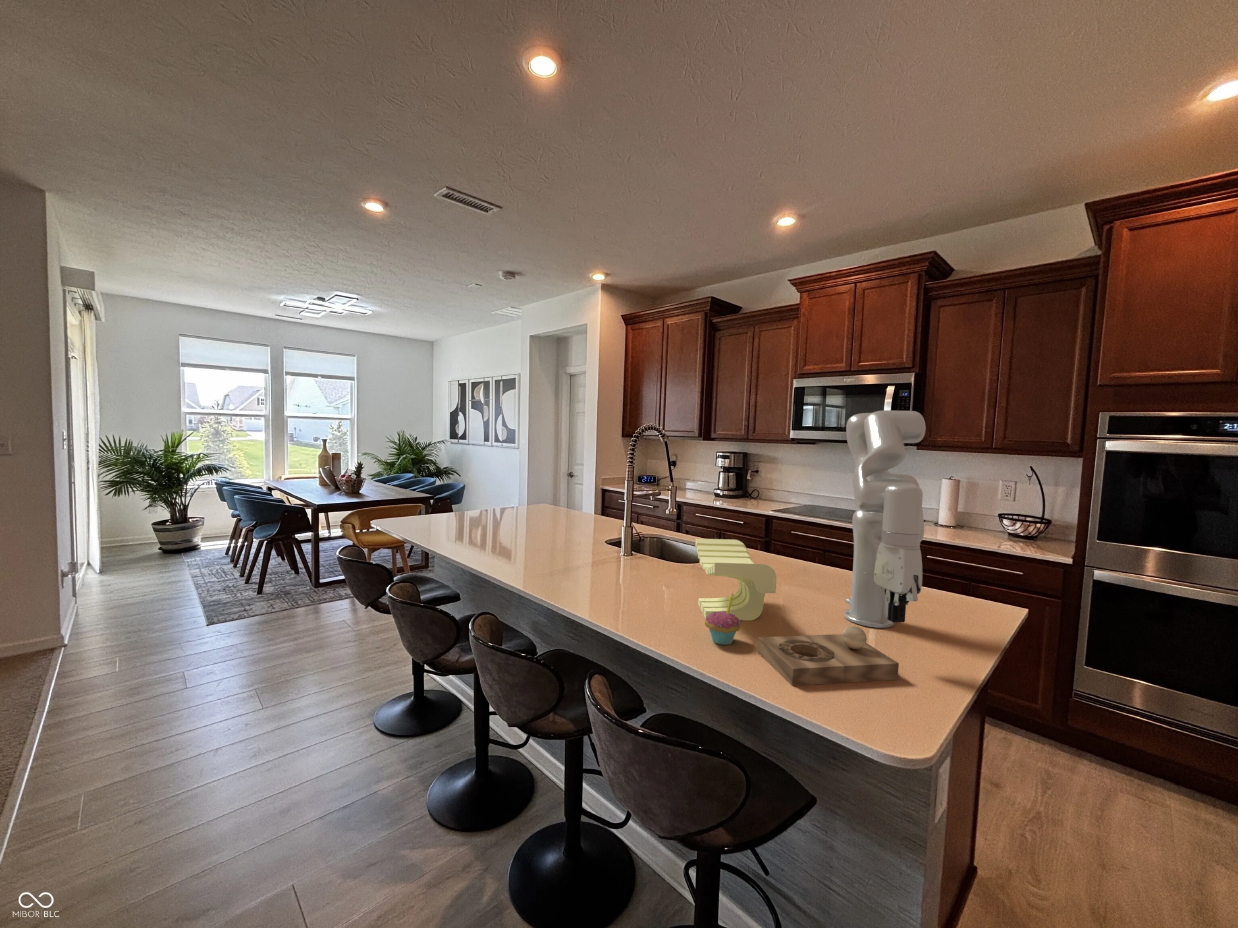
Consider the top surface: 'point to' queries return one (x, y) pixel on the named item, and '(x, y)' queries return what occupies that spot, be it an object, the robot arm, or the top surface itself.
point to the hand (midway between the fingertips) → (896, 620)
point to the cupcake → (723, 625)
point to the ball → (854, 637)
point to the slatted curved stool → (737, 564)
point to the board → (825, 660)
